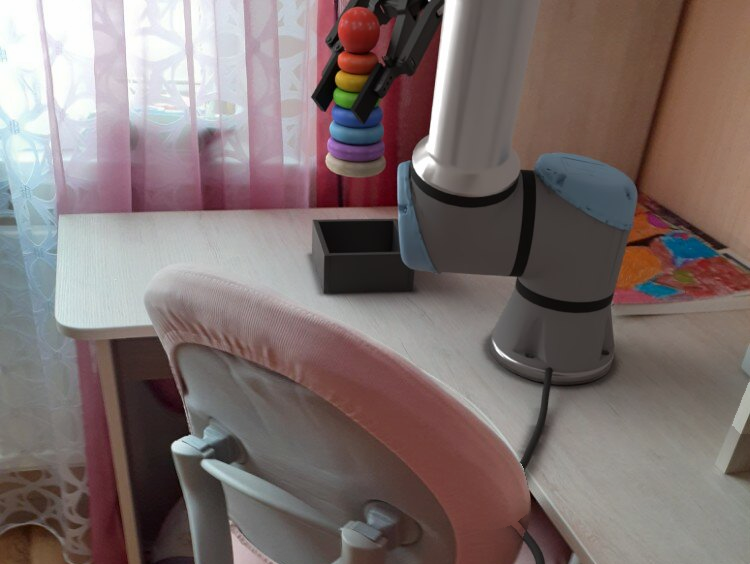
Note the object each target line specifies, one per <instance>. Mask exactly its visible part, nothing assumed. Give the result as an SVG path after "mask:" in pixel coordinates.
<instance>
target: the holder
mask: <svg viewBox="0 0 750 564" xmlns="http://www.w3.org/2000/svg"><path fill="white" fill-rule="evenodd" d="M311 257H312V260H313V263H314V267H315V271H316V273H317V274H316V275H317V276H318V280H319V284H320V287H321V290H322V293H323V294H324V295H325V294H357V293H360V294H361V293H391V292H395V293H396V292H413V289H414V280H415V270H413V269H411V268H409V267H408V266H406V265H405V263H404V262H403V260H402V258H401V252H400V241H399V224H398V218H341V219H340V218H337V219H335V218H333V219H331V218H330V219H312V221H311Z"/></svg>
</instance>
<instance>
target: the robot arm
mask: <svg viewBox="0 0 750 564" xmlns="http://www.w3.org/2000/svg"><path fill="white" fill-rule="evenodd" d="M541 2H542V0H349V1H348V2H347V4H346V5H345V7H344V9H343V10H342V12H341V14H340V15H339V17H338V18H337V20H336V22H335V23H334V25H333V26H332V28H331V29H330V31H329V33H328V34H327V36H326V37H325V39H324V43H325V45H326V46H327V47H328V49H329V51H330V52H331V55H330V57H329V59H328V61H327V62H326V64H325V66H324V67H323V69H322V70H321V79H320V80H319V82H318V84H317V85H316V88H315V89H314V91H313V92H312V94H311V96H310V98H311V99H312V101H313V102H314V104H315V105H316V106H317V107H318V109H319V110H320V111H321V112H324V113H326V112H327V111H328V109H329V107H330V105H331V103H332V101H334V99H333V93H334V90H335V89H336V88H337V87H338V86H337V85H336V82H335V77H336V74H337V73H338V72H339V71H341V70H342V69H341V68H340V67H339V65H338V57H339V55H340V54H341V53H342V52H344V51H347V50H346V49H345V48H344V47H343V45H342V44H341V42H340V39H339V35H338V25H339V22H340V19H341V17H342V16H343V14H344V13H345V12H346V11H348V10H349V9H351V8H354V7H363V8H366V9H369V10H370V11H371V12H373V13H374V15H375V16H376V17H377V19H378V22H379V25H380V27H381V26H385V25H387V24H388V23H390V21H392V19H395V18H396V19H395V22H394V26H393V29H392V32H391V36H390V40H389V42H388V46H387V50H386V53H385V55H384V56H381V60H382V62H383V63H382V62H379V63H378V62H377V63H376V65H375V67H374V68H373V70H372V72H371V74H370V75H369V77H368V79H367V81H366V82H365V84H364V86H363V88H362V89H361V91H360V93H359V95H358V96H357V98H356V100H355V102H354V103H353V105H352V107H351V108H350V110H351V111H352V112H353V114H354V115H355V117H356V118H357V120H358V121H359V122H360V123H362V124H365V123H366V121H367V119H368V117H369V116H370V114H371V112H372V110H373V109H374V107H375V105H376V103H377V102H378V100H379V98H380V99H381V100H383V98H385V97H386V95H387V94H388V92H389V90H390V89H391V87H392V85H393V83H394V82H395V80H396V79H397V78H399V77H400V76H401V75H406V76H407V77H412V76H414V75H415V73H416V71H417V70H418V67H419V65H420V64H421V62H422V61H423V58H424V56H425V54H426V52H427V50H428V48H429V46H430V44H431V43H432V40H433V38H434V36H435V35H436V32H437V30H438V29H439V27H440V25H441V29H440V38H439V47H438V54H437V55H438V56H437V64H436V73H435V80H434V81H435V83H434V91H433V98H432V107H431V116H430V125H429V133H428V135H426V136H424V137H423V138H421V140H419V141H418V143H416V145H415V147H414V149H413V151H412V157H411V160H407V161H403V162H401V163H399V164H398V166H397V173H396V174H397V177H396V179H397V180H396V181H397V183H396V185H397V186H396V187H397V189H396V190H397V191H396V192H397V213H398V214H397V219H398V224H399V241H400V252H401V258H402V260H403V262H404V263H405V265H406V266H408V267H409V268H411V269H413V270H414V271H420V272H427V273H428V272H429V273H433V274H437V275H441V274H442V273H443V274H463V275H477V276H478V275H479V276H496V277H513V278H516V279H515V284H514V290H513V292H512V293H511V295H510V297H509V299H508V301H507V303H506V304H505V306H504V308H503V309H502V312H501V313H500V315H499V317H498V319H497V321H496V322H495V325H494V327H493V329H492V332H491V336H490V337H491V338H490V343H489V347H490V348H489V349H490V353H491V355H492V357H493V358H494V360H496V361H497V363H499V365H501V366H502V367H503V368H505V369H507V370H508V371H510V372H512V373H514V374H515V375H518V376H520V377H523V378H525V379H528V380H531V381H535V382H539V383H543V387H542V392H541V393H542V394H541V401H540V409H539V414H538V418H537V421H536V425H535V427H534V430H533V433H532V435H531V437H530V440H529V442H528V443H527V446H526V448H525V450H524V452H523V455H522V457H521V459H520V461H519V463H521V464H522V466H523V468H524V471H525V470H526V468H527V467H528V465H529V463H530V461H531V459H532V457H533V454H534V452H535V450H536V448H537V446H538V443H539V441H540V438H541V436H542V433H543V430H544V427H545V424H546V421H547V416H548V409H549V400H550V393H551V392H550V391H551V387H552V385H559V386H561V385H562V386H573V385H581V384H587V383H591V382H594V381H596V380H599V379H601V378H603V377H604V376H605V375H606V374H607V373H608V372H609V371H610V369H611V366H612V363H613V359H614V356H615V339H614V338H615V337H614V326H613V313H612V302H613V299H614V296H615V291H616V287H617V284H618V280H619V277H620V276H619V275H620V272H621V269H622V268H621V267H622V264H623V260H624V256H625V253H626V250H627V249H626V248H627V245H628V242H629V238H630V234H631V230H633V228H634V219H635V215H636V208H637V201H638V190H637V186H636V185H635V183H634V181H633V180H632V179H631V177H629V176H628V175H627V174H625V172H623V171H621V170H620V169H618V168H616V167H614V166H612V165H610V164H608V163H605V162H603V161H601V160H597V159H595V158H592V157H587V156H583V155H579V154H574V153H567V152H553V153H549V152H547V153H544V154H541V155H540V156H539V157H538V159H537V161H536V162H535V163H534V167H533V169H521V168H522V167H521V166H522V165H521V164H522V162H521V159H520V156H519V154H518V153H517V151H516V150H515V149H514V148H513V146H512V144H513V138H514V133H515V128H516V123H517V118H518V113H519V108H520V104H521V99H522V94H523V89H524V85H525V84H524V83H525V79H526V75H527V74H526V73H527V70H528V65H529V59H530V56H531V55H530V54H531V50H532V44H533V40H534V35H535V30H536V25H537V20H538V16H539V11H540V6H541ZM383 64H384V65H383ZM521 540H522V541H523V542H524V543H525V544H526V546H527V547H528V549H529V551H530V552H531V554H532V556H533V559H534V561H535V564H546V560H545V559H546V558H545V557H544V553H543V551H542V549H541V547H540V545H539V544H538V543H537V541H536V540H535V539H534V538H533V536H532V535H531V534H530V533H529V531H527V529H526V532H525V533H524V536H523V538H521Z"/></svg>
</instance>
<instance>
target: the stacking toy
mask: <svg viewBox="0 0 750 564" xmlns="http://www.w3.org/2000/svg"><path fill="white" fill-rule="evenodd" d="M338 35H339V39H340V42H341V44H342V45H343V47H344V48H345V51H344V52H342V53H341V54H340V55H339V57H338V65H339V67H340V68H341V69H342V70H341V71H339V72H338V73H337V74H336V77H335V82H336V85H337V86H338V87H337V88H336V89H335V90H334V93H333V101H334V103H335V104H334V105H333V106H332V107H331V108H332V109H331V117H332V119H333V120H332V121H331V122H330V125H329V134H330V137H329V138H328V140H327V144H326V148H327V151H328V152H327V154H326V156H325V165H326V168H327V169H329V170H330V172H332V173H334V174H337V175H339V176H343V177H349V178H370V177H374V176H377V175H379V174H380V173H382V172H383V171H384V170H385V168H386V165H387V160H386V158H385V156H384V153H385V149H386V146H385V142H384V141H383V139H382V138H383V137H384V133H385V128H384V125H383V124H382V123H381V122H382V121H383V117H384V111H383V109H382V108H381V106H380V103H381V100H382V99H380V98H379V100H378V102H377V103H376V105H375V107H374V109H373V110H372V112H371V114H370V116H369V117H368V119H367V121H366V123H365V124H362V123H360V122H359V121H358V120H357V118H356V117H355V115H354V114H353V112H352V111H351V110H350V108H351V107H352V105H353V103H354V102H355V100H356V98H357V96H358V95H359V93H360V91H361V89H362V88H363V86H364V84H365V82H366V81H367V79H368V77H369V75H370V74H371V72H372V70H373V68H374V67H375V65H376V63H377V62H378V63H380V59H379V57H378V55H377V54H376V53H375V52H373V50H374V49H375V47H376V46H377V45H378V42H379V40H380V36H381V26H380V25H379V22H378V19H377V17H376V16H375V15H374V13H373V12H371V11H370V10H369V9H366V8H363V7H354V8H351V9H349V10H348V11H346V12H345V13H344V14H343V16H342V17H341V19H340V22H339V25H338ZM346 50H347V51H346Z"/></svg>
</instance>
